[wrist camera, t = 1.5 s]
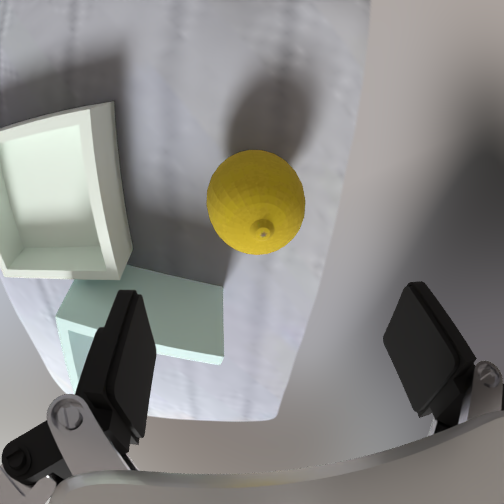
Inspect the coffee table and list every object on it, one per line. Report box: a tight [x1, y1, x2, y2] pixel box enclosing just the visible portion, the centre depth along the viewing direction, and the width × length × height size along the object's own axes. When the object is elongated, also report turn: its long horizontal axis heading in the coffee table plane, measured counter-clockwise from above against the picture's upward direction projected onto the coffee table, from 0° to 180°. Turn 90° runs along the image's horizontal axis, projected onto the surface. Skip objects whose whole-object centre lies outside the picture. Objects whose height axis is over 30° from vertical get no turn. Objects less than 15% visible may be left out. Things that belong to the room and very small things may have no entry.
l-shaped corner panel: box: [55, 264, 224, 394], centre depth 24 cm, size 12×12×8 cm
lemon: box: [207, 150, 305, 255], centre depth 17 cm, size 6×6×8 cm
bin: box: [0, 101, 133, 280], centre depth 17 cm, size 12×12×4 cm
